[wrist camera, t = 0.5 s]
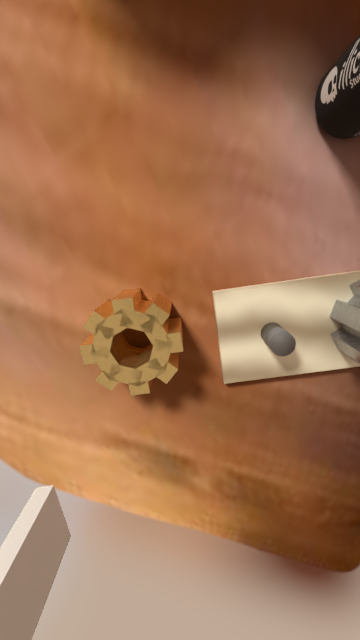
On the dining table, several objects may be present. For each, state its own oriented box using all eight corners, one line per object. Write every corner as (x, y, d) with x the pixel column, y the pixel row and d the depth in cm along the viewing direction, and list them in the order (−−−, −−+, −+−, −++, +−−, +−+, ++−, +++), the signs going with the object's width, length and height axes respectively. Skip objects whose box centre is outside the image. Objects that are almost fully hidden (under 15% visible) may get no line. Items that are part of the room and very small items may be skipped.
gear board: (212, 291, 34) (217, 299, 29) (419, 261, 33) (462, 265, 28) (222, 379, 37) (229, 401, 32) (414, 354, 36) (452, 372, 31)
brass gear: (88, 295, 34) (69, 306, 28) (175, 283, 34) (174, 291, 28) (106, 375, 37) (92, 400, 31) (187, 364, 36) (188, 388, 31)
